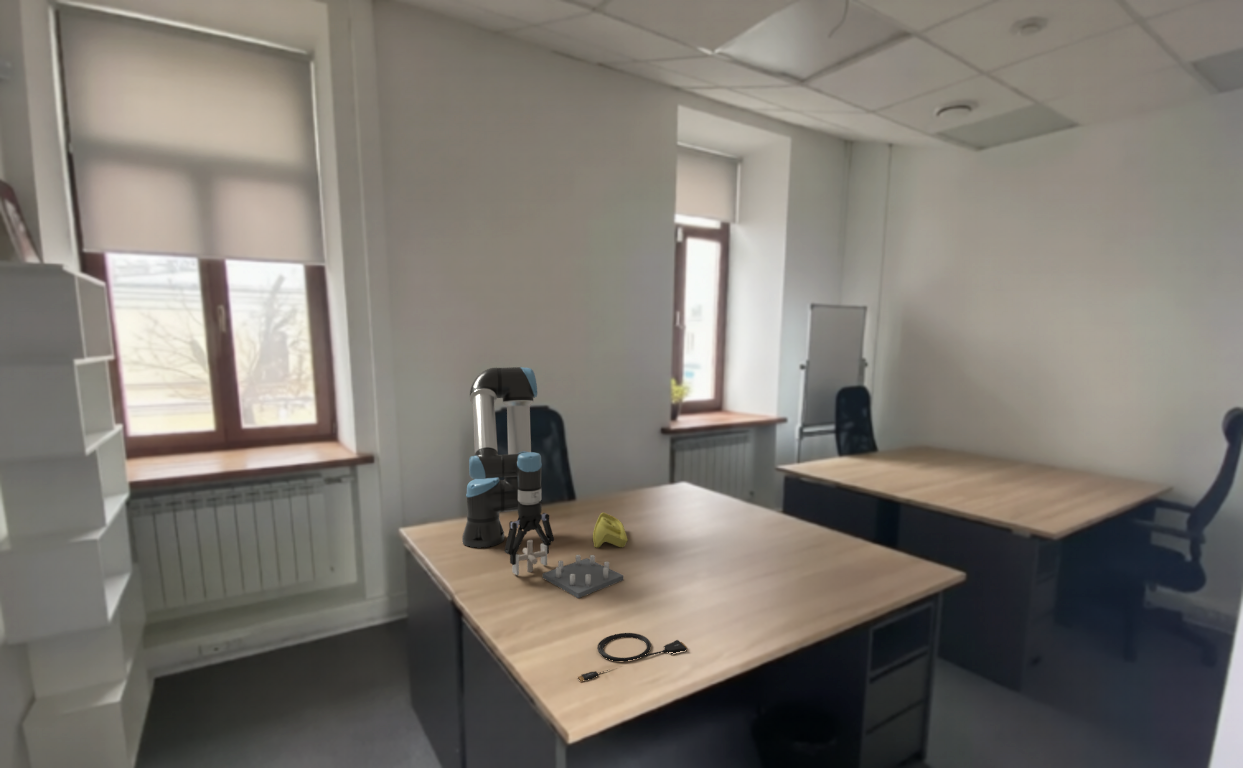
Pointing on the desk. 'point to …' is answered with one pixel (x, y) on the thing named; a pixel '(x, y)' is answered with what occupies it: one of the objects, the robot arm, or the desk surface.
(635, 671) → the desk surface
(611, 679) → the desk surface
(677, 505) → the desk surface
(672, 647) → the cable
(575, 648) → the desk surface
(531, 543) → the pipe connector
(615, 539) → the plastic component
